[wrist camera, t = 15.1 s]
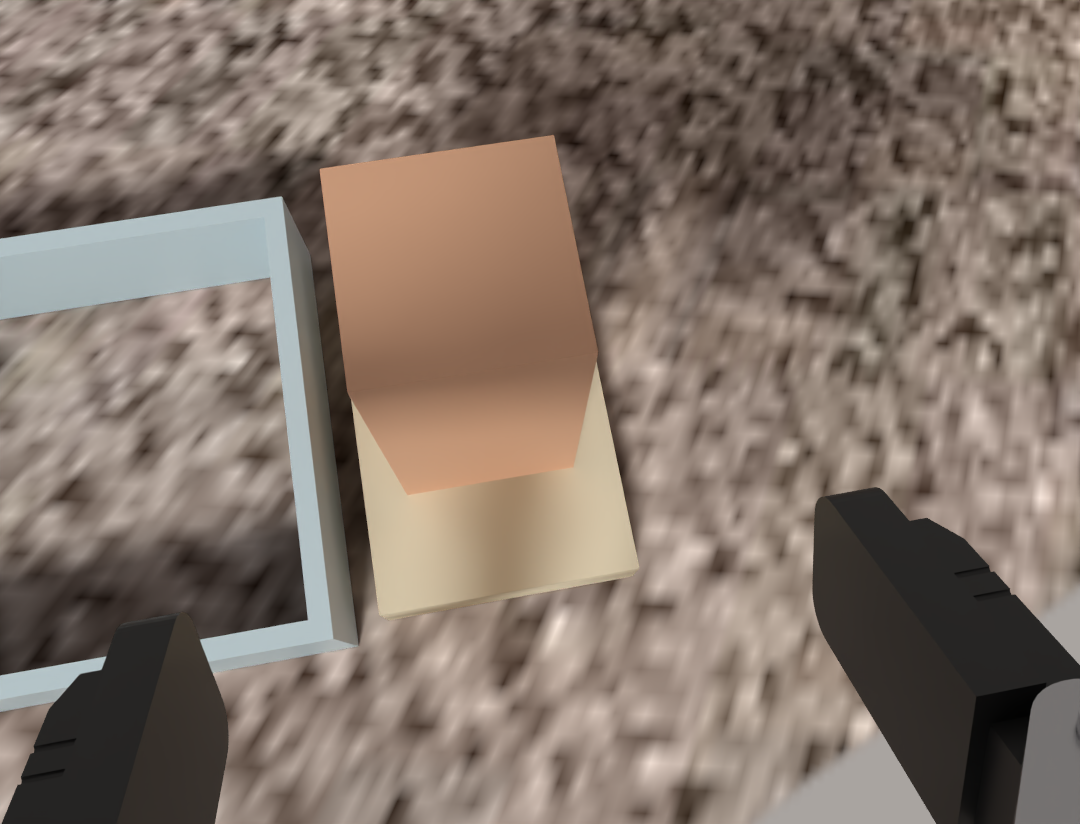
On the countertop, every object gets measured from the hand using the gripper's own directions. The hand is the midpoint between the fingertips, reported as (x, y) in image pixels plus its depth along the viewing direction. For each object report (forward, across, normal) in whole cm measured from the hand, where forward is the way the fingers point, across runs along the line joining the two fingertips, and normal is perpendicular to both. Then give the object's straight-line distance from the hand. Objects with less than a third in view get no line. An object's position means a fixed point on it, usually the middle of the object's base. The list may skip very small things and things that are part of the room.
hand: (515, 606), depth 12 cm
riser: (+18, 0, +7) cm, 19 cm away
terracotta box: (+16, 0, +6) cm, 17 cm away
